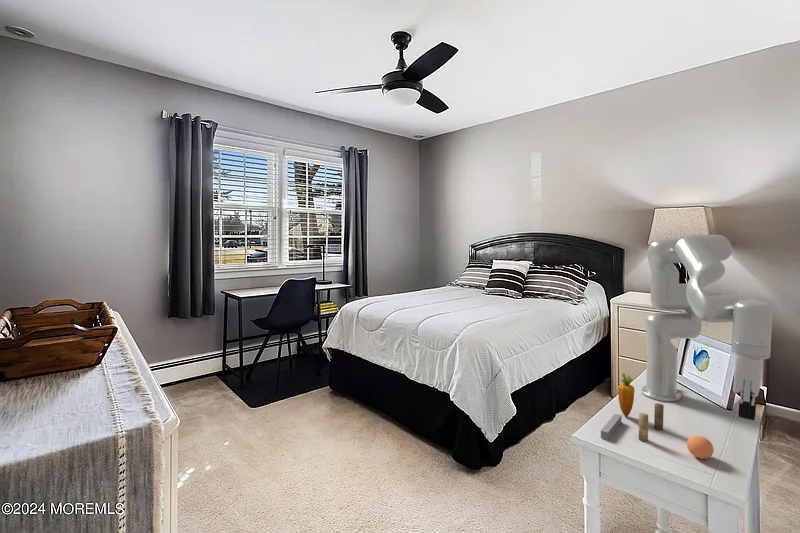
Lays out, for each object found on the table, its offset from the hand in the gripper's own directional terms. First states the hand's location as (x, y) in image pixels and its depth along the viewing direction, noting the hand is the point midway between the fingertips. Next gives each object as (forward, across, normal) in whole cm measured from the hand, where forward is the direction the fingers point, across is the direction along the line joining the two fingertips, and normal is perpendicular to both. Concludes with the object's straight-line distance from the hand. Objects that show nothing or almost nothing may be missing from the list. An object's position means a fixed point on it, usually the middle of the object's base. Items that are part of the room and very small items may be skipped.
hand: (746, 416), depth 104 cm
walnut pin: (+15, -10, -22) cm, 28 cm away
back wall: (+15, 0, -32) cm, 36 cm away
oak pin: (+15, 0, -24) cm, 28 cm away
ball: (+12, 0, -10) cm, 15 cm away
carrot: (+15, -12, -32) cm, 37 cm away
